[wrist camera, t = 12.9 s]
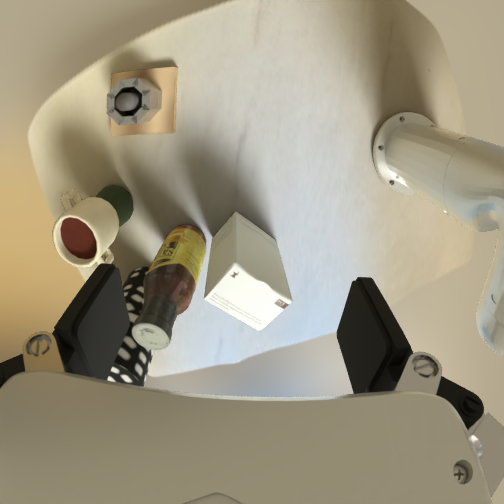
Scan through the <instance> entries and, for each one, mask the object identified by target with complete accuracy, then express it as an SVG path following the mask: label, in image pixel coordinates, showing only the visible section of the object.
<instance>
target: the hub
mask: <svg viewBox="0 0 504 504" xmlns="http://www.w3.org/2000/svg"><path fill="white" fill-rule="evenodd" d="M136 90H138V91H139V92H140V93H142V107H141V108H140V109H139V110H138V111H137V112H136V114H135V113H134V112H133V111H132V110H129V111H120V110H119V109H118V108H117V106H116V99H117V97H118V96H119V95H120V94H122V93H134V92H135V91H136ZM161 109H162V91H161V90H160V89H159V88H158V87H157V86H156V85H155V84H154V83H153V82H152V81H151V80H147V79H142V78H133V79H125V80H119V82H118V83H117V84H116V85H115V86H114V87H113V89H112V90H111V91H110V92H109V93H108V94H107V114H108V115H109V116H110V117H111V118H112V119H113V120H114V121H115V122H116V123H117V124H118V125H128V124H139V123H144V122H149V121H150V120H151V119H152V118H153V117H154V116H155V115H156V114H157V113H158V112H159V111H160V110H161Z"/></svg>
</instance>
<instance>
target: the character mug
mask: <svg viewBox="0 0 504 504" xmlns="http://www.w3.org/2000/svg"><path fill="white" fill-rule="evenodd" d="M70 199H73V201H74V203H75V205H74V206H73V207H72V205H71V203H70V201H69V200H70ZM61 203H62V205H63V207H64V208H65V210H66V212H65V213H63V214H62V215H61V216H60V217H59V218H58V220H57V221H56V222H55V224H54V228H53V231H52V234H53V243H54V246H55V248H56V250H57V252H58V254H59V255H60V256H61V257H62V258H63V259H64V260H65V261H66V262H68V263H69V264H71V265H73V266H76V267H80V268H84V267H90V266H92V265H93V264H94V263H95V262H96V263H97V264H98V266H99V264H100V263H107V264H111V262H112V261H113V260H114V256H113V254H112V252H111V250H110V249H109V246H110V245H111V244H112V243H113V241H114V240H115V238H116V235H117V233H118V231H119V227H120V226H121V225H123V224H124V223H125V222H126V221H127V220H129V219H130V217H131V215H132V212H133V200H132V198H131V196H130V194H129V192H127V191H126V190H125V189H123V188H122V187H119V186H114V185H112V186H108V187H105V188H104V189H103V190H102V191H101V192H100V193H99V194H98V195H97V196H96V197H90V198H87V199H84V200H81V198H80V196H79V194H78V192H77V191H76V190H70V191H69V192H67V193H65V194H64V195H63V196H62V197H61ZM103 253H104V254H105V256H106V259H105V260H104V259H103V258H102V255H103Z"/></svg>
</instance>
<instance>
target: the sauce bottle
mask: <svg viewBox="0 0 504 504" xmlns="http://www.w3.org/2000/svg"><path fill="white" fill-rule="evenodd" d="M205 253H206V239H205V236H204V235H203V233H202V232H201V231H200V230H199V229H198V228H196V227H194V226H191V225H181V226H179V227H176V228H175V229H173V231H171V232H170V233H169V234H168V236H167V237H166V239H165V241H164V243H163V244H162V246H161V248H160V250H159V252H158V253H157V255H156V257H155V259H154V261H153V263H152V264H151V266H150V268H149V270H148V272H147V274H146V276H145V278H144V281H143V286H144V303H143V308H142V310H141V312H140V315H139V316H138V317H137V318H136V320H135V321H134V325H133V327H132V336H133V337H134V339H135V340H136V342H137V343H138V344H140V345H141V346H143V347H145V348H147V349H150V350H162V349H165V348H166V347H167V346H168V345H169V343H170V340H171V336H172V327H173V324H174V321H175V319H176V317H177V315H179V314H181V313H183V312H184V311H185V310H186V309H187V308H188V306H189V304H190V303H191V299H192V296H193V293H194V291H195V288H196V285H197V281H198V278H199V274H200V271H201V267H202V264H203V260H204V257H205Z"/></svg>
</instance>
